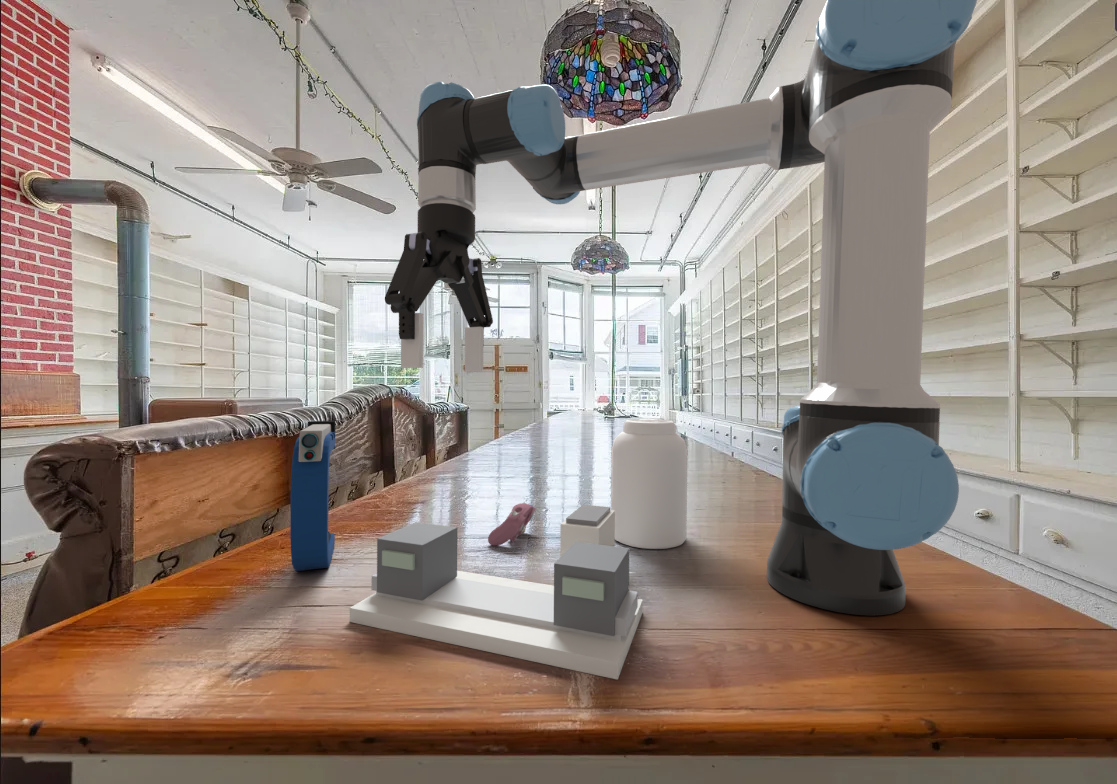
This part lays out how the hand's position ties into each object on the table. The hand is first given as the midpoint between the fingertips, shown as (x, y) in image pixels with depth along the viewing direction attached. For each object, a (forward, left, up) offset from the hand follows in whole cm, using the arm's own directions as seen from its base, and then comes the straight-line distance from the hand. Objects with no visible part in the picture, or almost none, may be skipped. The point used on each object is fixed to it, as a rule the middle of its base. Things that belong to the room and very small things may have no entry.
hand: (445, 370), depth 64 cm
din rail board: (-12, +8, -27) cm, 31 cm away
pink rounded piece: (-2, -17, -28) cm, 33 cm away
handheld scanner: (+20, +3, -28) cm, 34 cm away
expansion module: (-18, -6, -27) cm, 34 cm away
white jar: (-23, -25, -28) cm, 44 cm away
